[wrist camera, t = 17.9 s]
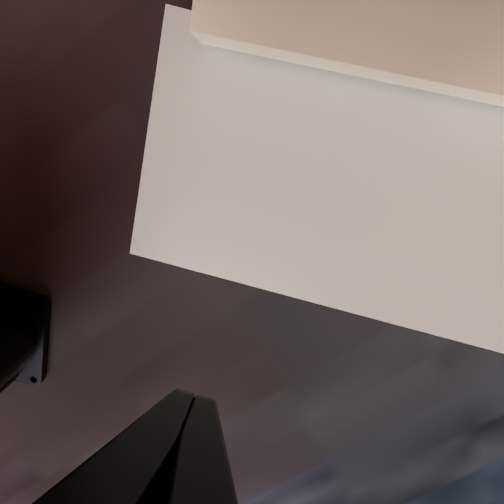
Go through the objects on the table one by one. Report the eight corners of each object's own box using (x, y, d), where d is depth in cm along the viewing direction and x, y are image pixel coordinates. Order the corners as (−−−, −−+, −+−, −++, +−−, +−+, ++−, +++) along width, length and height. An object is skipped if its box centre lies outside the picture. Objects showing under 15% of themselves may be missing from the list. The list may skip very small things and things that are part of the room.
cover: (701, 148, 13) (791, 151, 10) (201, 44, 13) (183, 25, 11) (799, -21, 11) (932, -61, 9) (226, -132, 12) (210, -198, 9)
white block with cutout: (493, 319, 20) (544, 366, 16) (159, 230, 20) (127, 254, 16) (705, -83, 14) (871, -168, 10) (232, -201, 14) (211, -329, 10)
